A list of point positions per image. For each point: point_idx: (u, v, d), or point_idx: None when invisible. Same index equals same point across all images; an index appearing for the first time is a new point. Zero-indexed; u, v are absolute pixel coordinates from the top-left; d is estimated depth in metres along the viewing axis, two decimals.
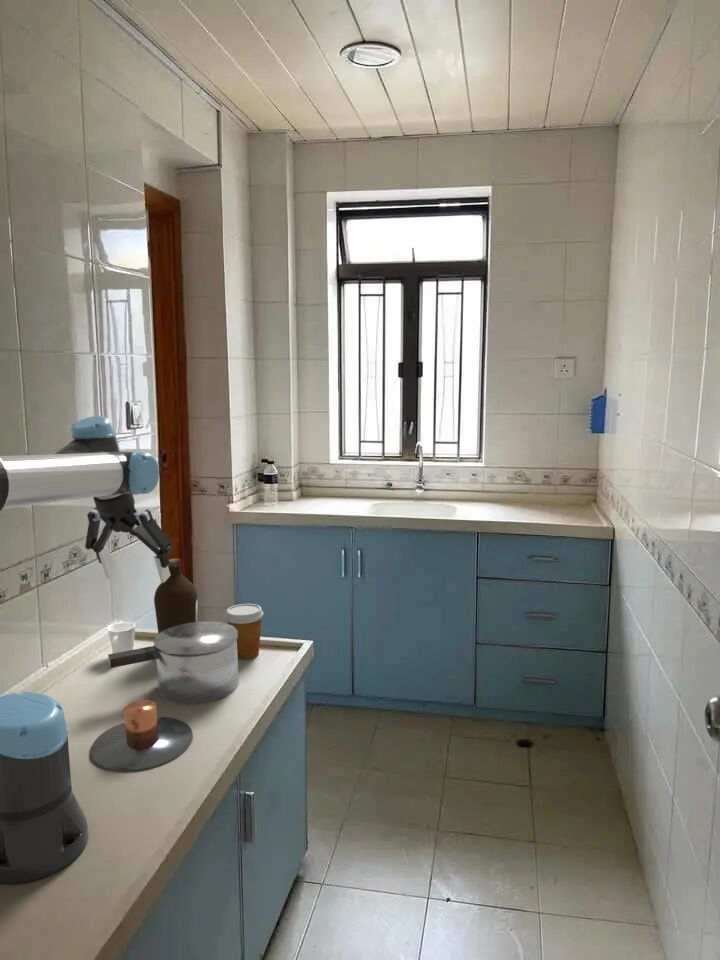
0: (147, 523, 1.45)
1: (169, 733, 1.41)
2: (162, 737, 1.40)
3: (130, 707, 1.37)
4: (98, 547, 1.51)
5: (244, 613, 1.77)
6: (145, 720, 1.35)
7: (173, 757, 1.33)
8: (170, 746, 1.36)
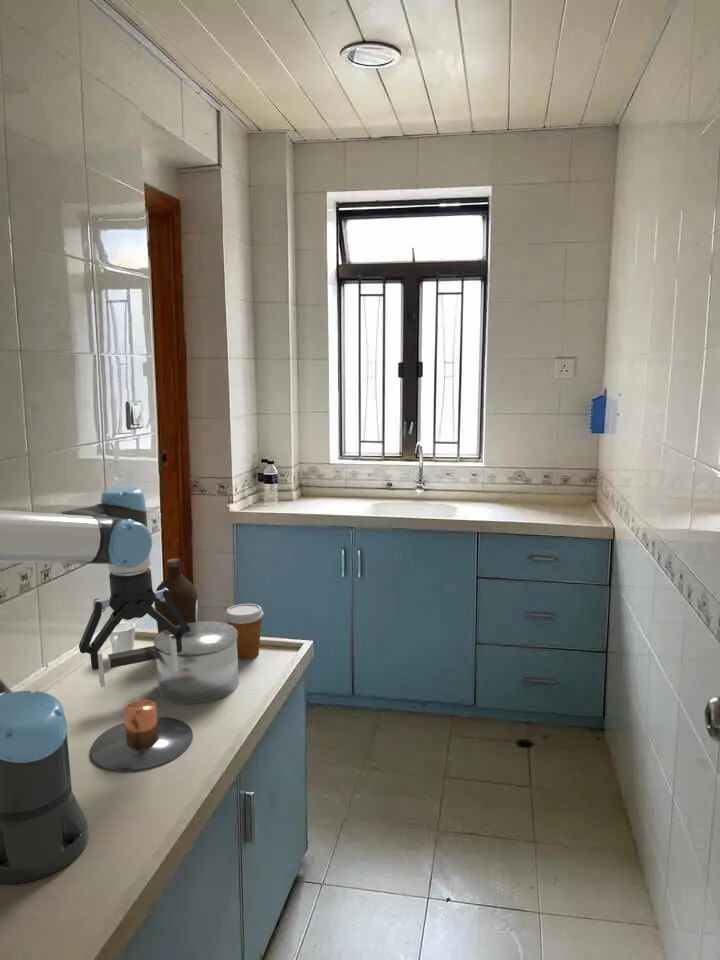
0: None
1: (169, 733, 1.41)
2: (162, 737, 1.40)
3: (130, 707, 1.37)
4: (99, 646, 1.31)
5: (244, 613, 1.77)
6: (145, 720, 1.35)
7: (173, 757, 1.33)
8: (170, 746, 1.36)
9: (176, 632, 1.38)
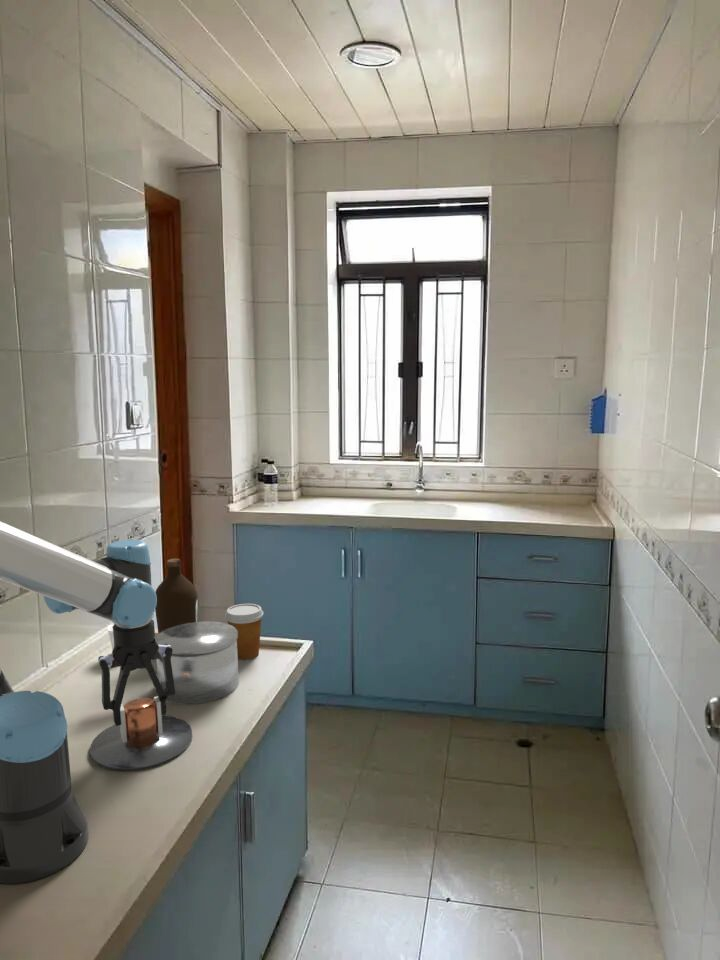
0: None
1: (168, 731, 1.41)
2: (162, 735, 1.40)
3: (130, 705, 1.37)
4: (120, 702, 1.34)
5: (244, 613, 1.77)
6: (145, 718, 1.35)
7: (172, 755, 1.33)
8: (169, 745, 1.36)
9: (162, 694, 1.38)
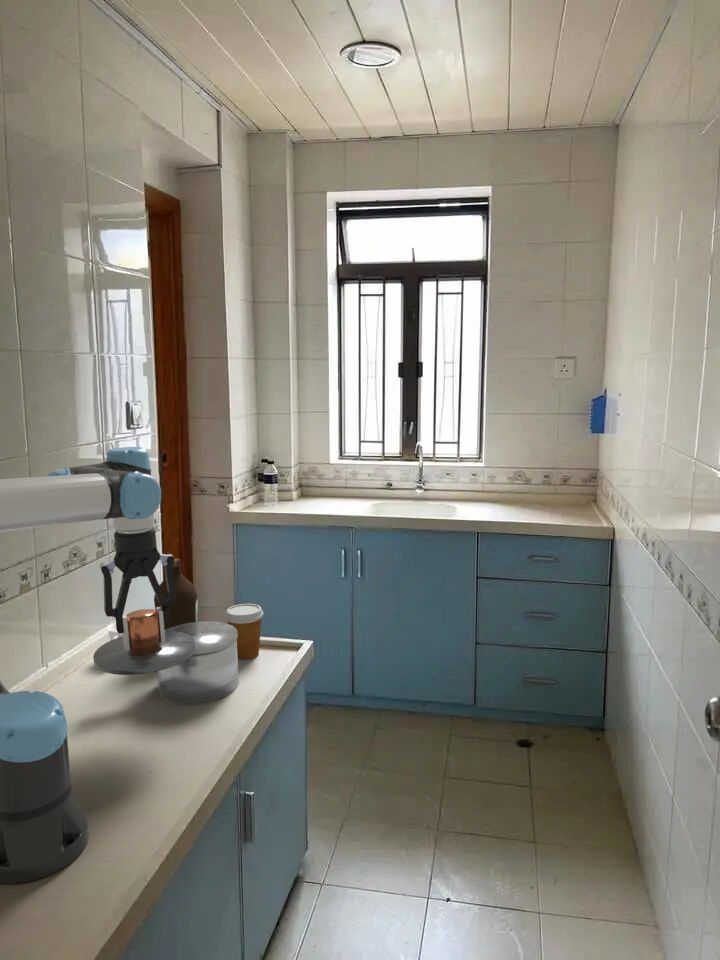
0: None
1: (171, 642, 1.41)
2: (165, 645, 1.40)
3: (132, 614, 1.37)
4: (122, 609, 1.34)
5: (244, 613, 1.77)
6: (147, 626, 1.35)
7: (175, 661, 1.33)
8: (172, 653, 1.36)
9: (164, 604, 1.38)
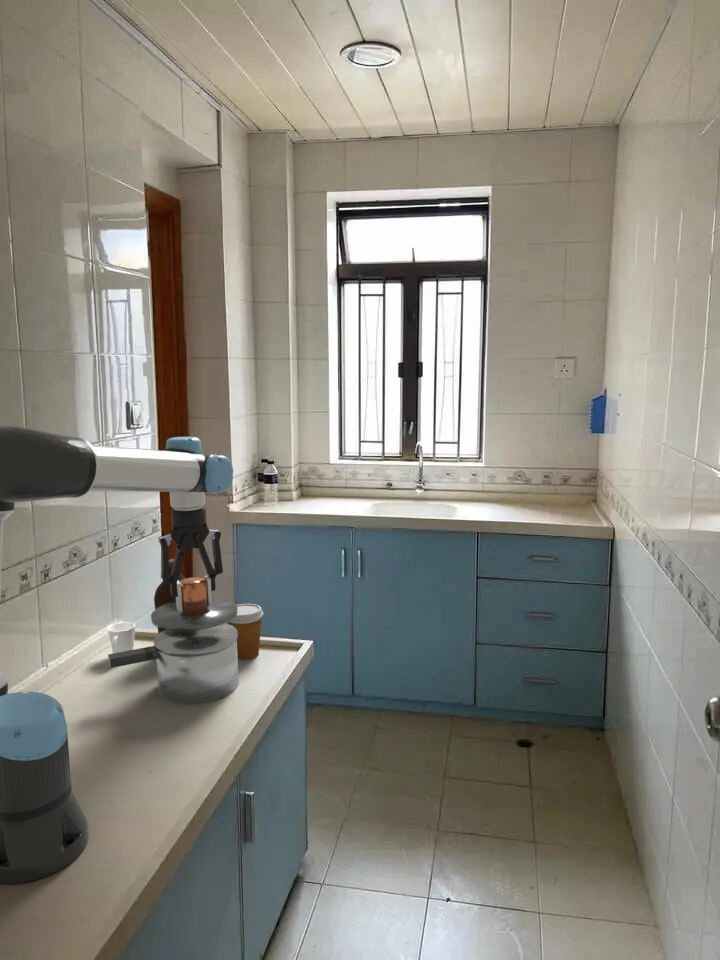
0: None
1: (217, 606, 1.63)
2: (211, 609, 1.61)
3: (184, 581, 1.59)
4: (176, 576, 1.56)
5: (244, 613, 1.77)
6: (198, 590, 1.57)
7: (222, 620, 1.55)
8: (219, 614, 1.58)
9: (212, 572, 1.60)
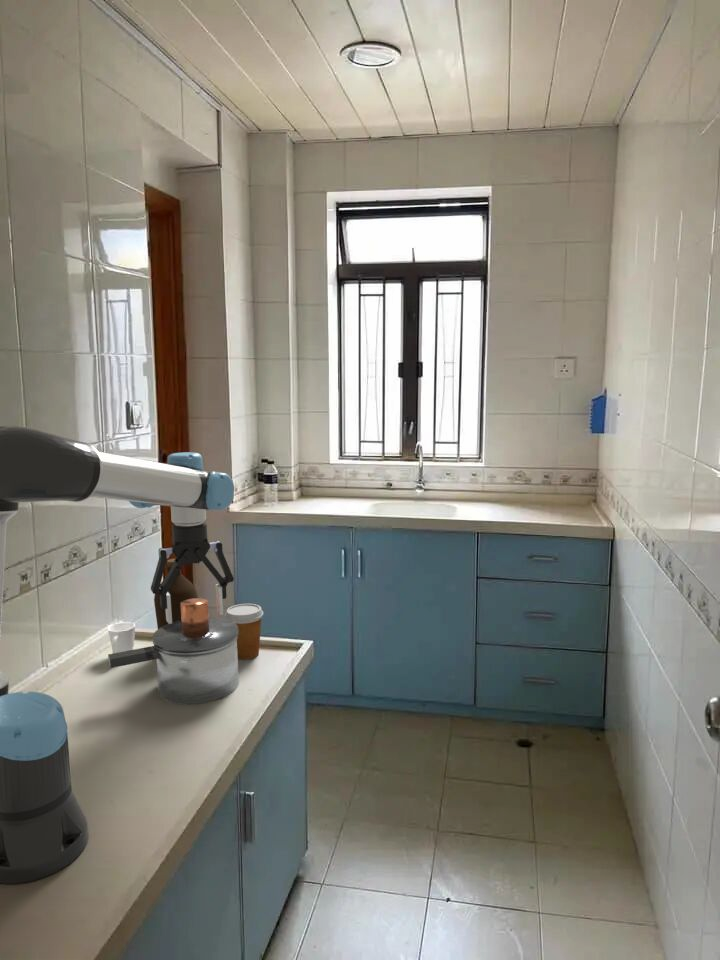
0: None
1: (218, 627, 1.64)
2: (212, 629, 1.62)
3: (186, 602, 1.60)
4: (167, 588, 1.56)
5: (244, 613, 1.77)
6: (199, 612, 1.58)
7: (224, 642, 1.55)
8: (220, 635, 1.59)
9: (222, 581, 1.61)
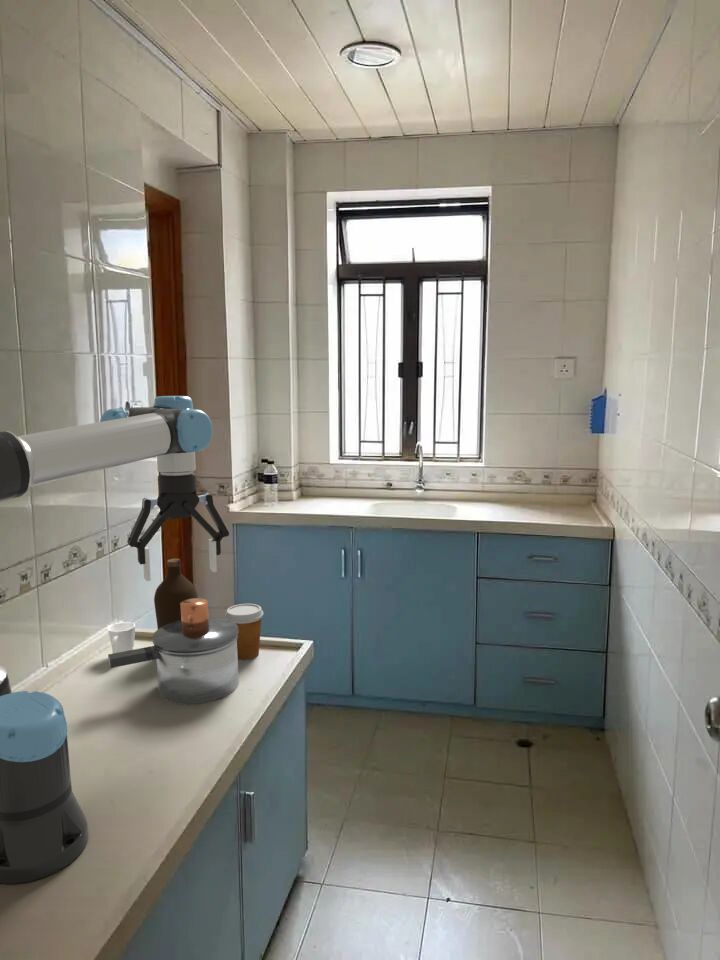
0: None
1: (218, 627, 1.64)
2: (212, 629, 1.62)
3: (186, 602, 1.60)
4: (146, 542, 1.41)
5: (244, 613, 1.77)
6: (199, 612, 1.58)
7: (224, 642, 1.55)
8: (220, 635, 1.59)
9: (216, 535, 1.48)
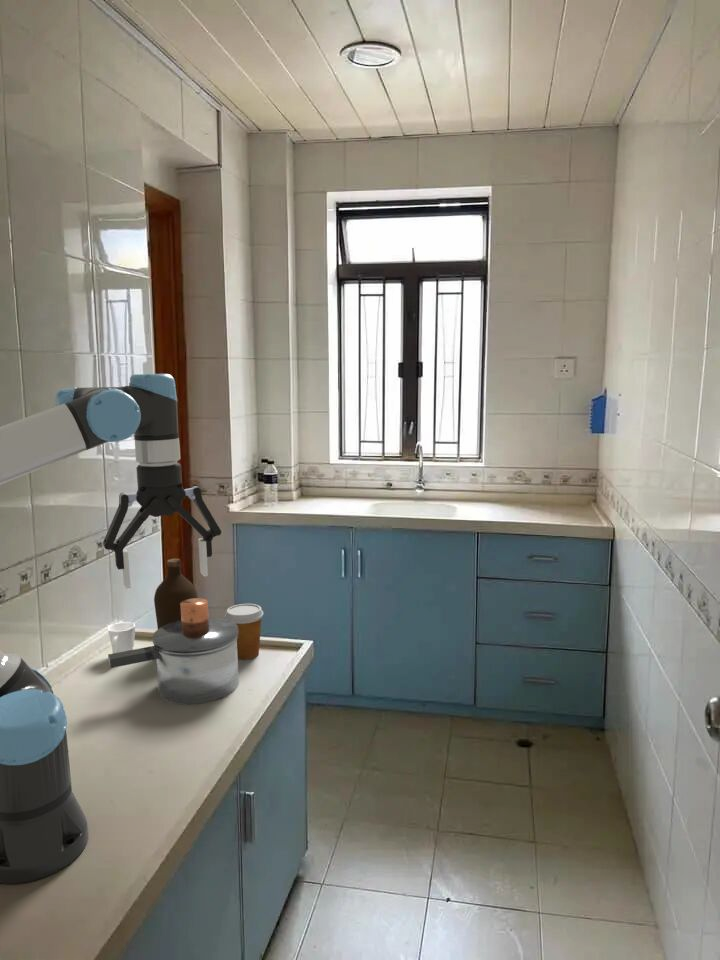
0: (201, 498, 1.27)
1: (218, 627, 1.64)
2: (212, 629, 1.62)
3: (186, 602, 1.60)
4: (125, 543, 1.22)
5: (244, 613, 1.77)
6: (199, 612, 1.58)
7: (224, 642, 1.56)
8: (220, 635, 1.59)
9: (206, 534, 1.28)
